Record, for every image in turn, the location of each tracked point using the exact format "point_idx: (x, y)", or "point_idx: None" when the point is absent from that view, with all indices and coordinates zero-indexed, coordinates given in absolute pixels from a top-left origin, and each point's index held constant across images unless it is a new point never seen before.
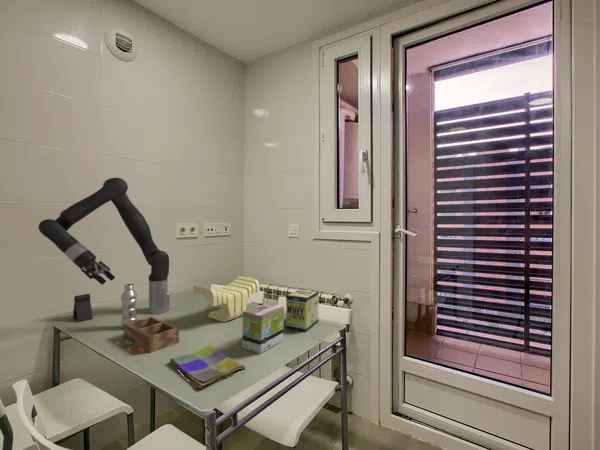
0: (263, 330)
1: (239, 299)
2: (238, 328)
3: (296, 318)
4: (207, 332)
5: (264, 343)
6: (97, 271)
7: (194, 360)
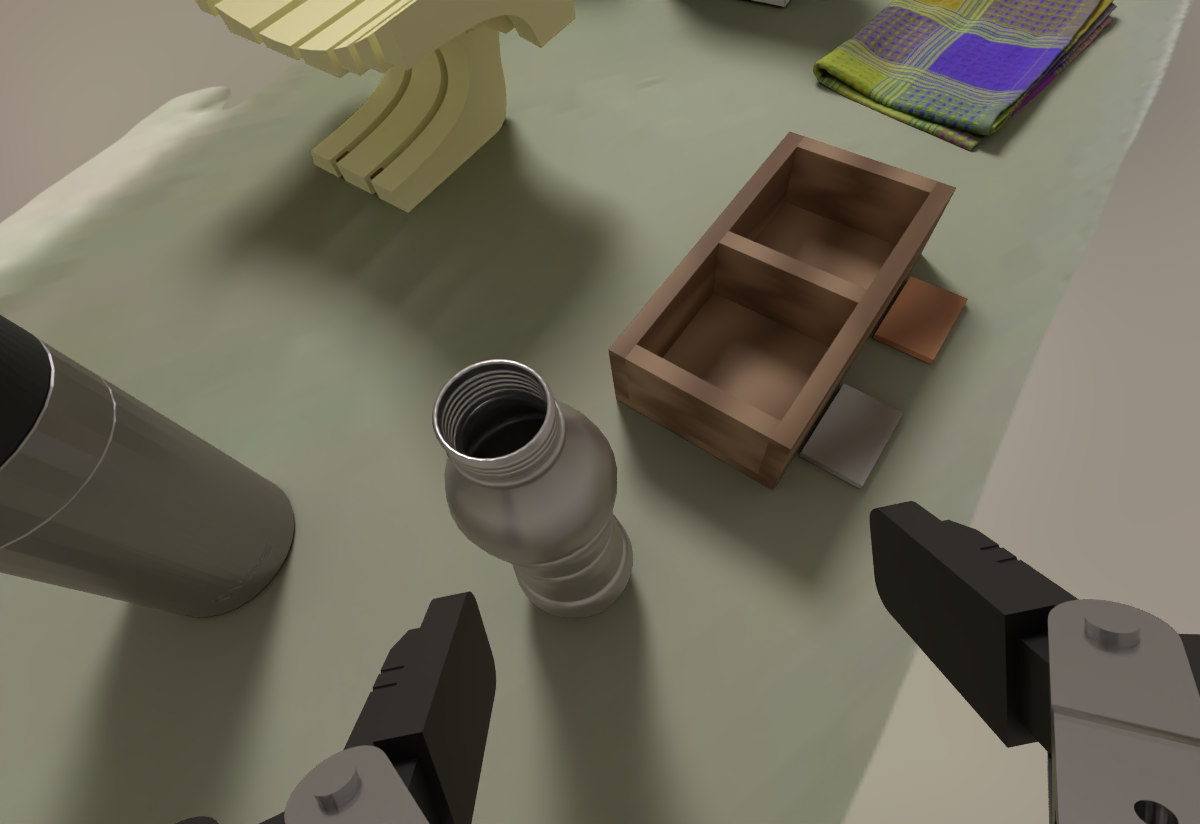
0: None
1: None
2: (587, 64)
3: None
4: (641, 142)
5: None
6: (1108, 723)
7: (947, 76)
